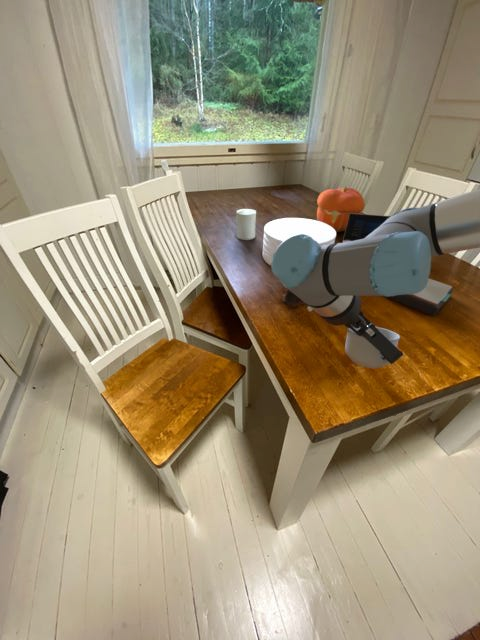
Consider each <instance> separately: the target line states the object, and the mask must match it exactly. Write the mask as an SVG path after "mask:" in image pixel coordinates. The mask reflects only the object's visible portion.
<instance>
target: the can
mask: <svg viewBox="0 0 480 640" xmlns="http://www.w3.org/2000/svg"><path fill="white" fill-rule="evenodd" d="M256 221H257V210H255V209H252V208H240V209H237V210H236V236H235V237H236V238H237V239H239V240H243V241H244V240H245V241H250V240H253V239H255V238H256V225H257V223H256Z"/></svg>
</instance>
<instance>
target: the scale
mask: <svg viewBox="0 0 480 640" xmlns="http://www.w3.org/2000/svg"><path fill="white" fill-rule="evenodd" d="M454 290H455V289H454V288H453V286H452V285H450V284H446V283H443V282H441V281H437V280H436V279H435V280H434V279H432V278H429V277H428V283H427V285H426V287H425V288H424V289H423V290H422V291H421V292H419V293H415V294H405V295H396V296H390V297H387V298H388V299H391V300H393V301H396V302H398V303H400V304H402V305H405V306H407V307H410V308H413V309H415V310H417V311H420V312H422V313H425V314H427V315H429V316H432V317H435V315H436V314H437V313H438V312H439V311H440V309H441V308H442V307H443V306H444V305H445V303H446V302H447V301H448V300H449V298H450V297H451V296H452V293H453V292H454Z"/></svg>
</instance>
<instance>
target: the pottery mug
mask: <svg viewBox="0 0 480 640" xmlns="http://www.w3.org/2000/svg"><path fill="white" fill-rule="evenodd" d="M286 289H287V290H286V293H284V294H283V295H282V302H283V303H285V304H286V305H288V306H290V307H293V308H297V306H298V305H299V306H301V307H303V306H305V305H307V304H306V303H305V302H303V301H302V300H301V299H300V298H299V297H297V296H296V295H295V294H294V293H293V292H291V291H290V290H289V289H288V288H286Z"/></svg>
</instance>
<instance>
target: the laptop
mask: <svg viewBox="0 0 480 640" xmlns="http://www.w3.org/2000/svg"><path fill="white" fill-rule="evenodd" d="M389 217H390V215H381V214H367V213H362V214H354V213H350V214H349V218H348V222H347V226H346V230H345V231H344V234H343V238H342V243H343V242H349V241H354V240H360V239H363V238H365V237H367V236H368V235H369V234H370V233H372V232H373V231H374V230H375V229H377V228H378V227H379V226H380V225H382V224H383V223H384V222H385V221H386V220H387V219H388V218H389Z"/></svg>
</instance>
